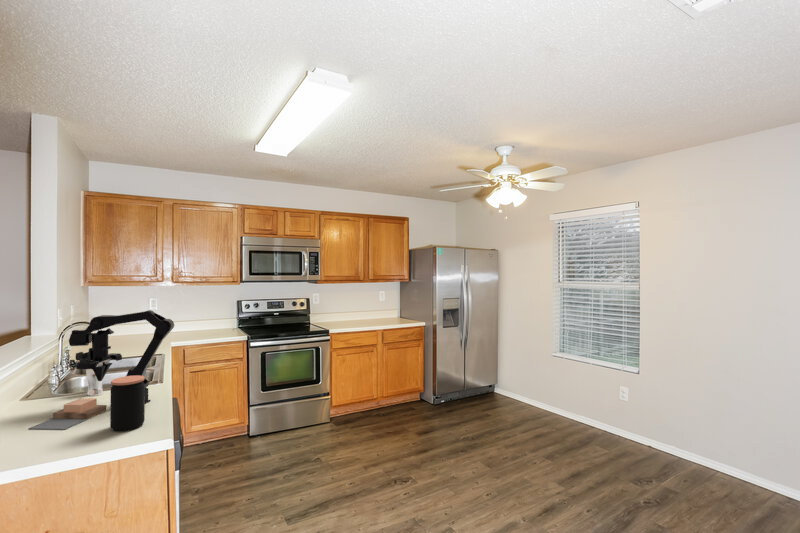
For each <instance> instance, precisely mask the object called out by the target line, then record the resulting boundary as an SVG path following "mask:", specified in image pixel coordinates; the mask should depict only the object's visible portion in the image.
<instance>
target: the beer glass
mask: <svg viewBox="0 0 800 533" xmlns="http://www.w3.org/2000/svg"><path fill="white" fill-rule="evenodd" d="M85 370H86V371H85V373H86V374H85V376H86V382H87V388H88V389H87V393H86V394H87V396H88V397H94V396H95V397H97V396H101V395H103V394H104V389H103V381H104V379H103V380H102V381H98V379H97V377H96V375H95V373H94V371H93V370H92V369H85ZM102 393H103V394H102Z"/></svg>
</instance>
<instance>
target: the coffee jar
mask: <svg viewBox="0 0 800 533" xmlns="http://www.w3.org/2000/svg"><path fill="white" fill-rule="evenodd" d="M144 379H146V377H145V376H138V375H135V376H126V375H125V376H120V377H117V378H114V379H111V381H110V384H111V385H112V386H111V387H110V404H109V405H110V408H109V410H110V415H109V416H110V421H109V422H110V424H109V426H110V428H111V430H112V431H113V432H117V433H121V432H129V431H132V430H136V429H139V428H140V427H142V425H144V422H145V420H146V419H145V416H146V415H145V410H146V407H145V404H146V403H145V383H144V382H143V381H144Z"/></svg>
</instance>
